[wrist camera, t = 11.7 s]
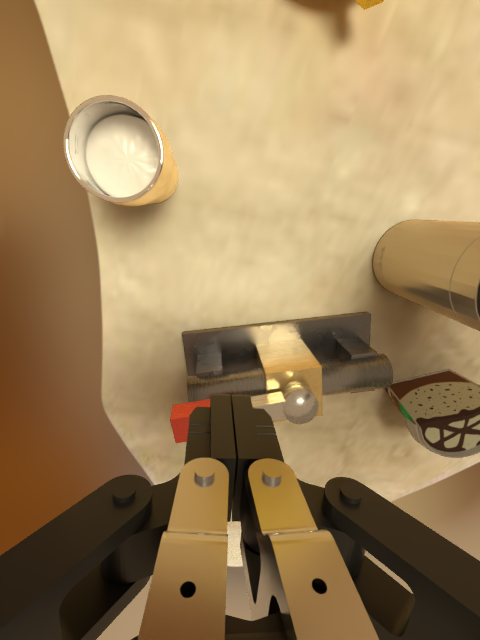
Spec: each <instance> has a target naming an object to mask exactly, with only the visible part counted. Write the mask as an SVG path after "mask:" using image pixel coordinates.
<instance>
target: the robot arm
mask: <svg viewBox="0 0 480 640" xmlns="http://www.w3.org/2000/svg"><path fill="white" fill-rule="evenodd" d="M373 270H374V273H375V276H376V278H377V280H378V282H379V283H380V284H381V285H382V286H383V287H384V288H385V289H387V290H388V291H390V292H392V293H395V294H397V295H399V296H401V297H404V298H406V299H408V300H410V301H412V302H415V303H417V304H419V305H421V306H424V307H426V308H428V309H431V310H433V311H435V312H437V313H440V314H442V315H444V316H446V317H449V318H451V319H453V320H455V321H458V322H460V323H462V324H465V325H467V326H469V327H471V328H474V329H476V330H479V331H480V223H479V222H456V221H437V220H407V221H404V222H401V223H399V224H397V225H395V226H393V227H392V228H391V229H389V230H388V231H387V232H386V233H385V234H384V235H383V237H382V238H381V239H380V241H379V243H378V245H377V247H376V250H375V252H374V258H373ZM231 508H232V521H241V530H242V532H241V541H240V549H241V555H242V561H243V567H244V573H245V579H246V585H247V591H248V597H249V603H250V610H251V618H252V621H248V620H243V619H240V618H235V617H232V616H228V615H225V610H226V579H227V578H226V577H227V548H228V534H227V522H229V521H230V518H231ZM365 550H366V551H368V552H369V553H370V554H371V555H373V556H374V557H375V558H376V559H378V560H379V561H380V562H381V563H383V564H384V565H385V566H387V567H388V568H389V569H390V570H391V571H393V572H394V573H395V574H396V575H398V576H399V577H400V578H401V579H403V580H404V581H405V582H406V583H407V584H408V586H409V587H410V588H411V590H412V592H413V594H411V593H410V592H409V591H408V590H406V589H405V588H404V587H403V586H402V585H400V584H399V583H398V582H397V581H395V580H394V579H393V578H392V577H390V576H389V575H388V574H387V573H386V572H384V571H383V570H382V569H381V568H379V567H378V566H377V565H375V564H374V563H373V562H372V561H371V560H370V559H368V558H367V557H366V556H365V555H364V554H365ZM151 575H153V576H152V581H151V584H150V589H149V593H148V598H147V602H146V606H145V610H144V614H143V619H142V623H141V627H140V631H139V635H138V636H136V637H134V638H133V639H131V640H480V561H479V560H477V559H476V558H474V557H473V556H471V555H469V554H468V553H467V552H465V551H463V550H462V549H460V548H459V547H457V546H456V545H454V544H453V543H451V542H450V541H448V540H447V539H445V538H444V537H442V536H440V535H439V534H438V533H436V532H435V531H433V530H432V529H430V528H429V527H427V526H425V525H424V524H423V523H421V522H419V521H418V520H416V519H415V518H413V517H412V516H410V515H409V514H407V513H406V512H404V511H403V510H401V509H400V508H398V507H397V506H395V505H394V504H392V503H391V502H389V501H388V500H386V499H385V498H383V497H382V496H380V495H379V494H377V493H375V492H374V491H372V490H371V489H369V488H368V487H366V486H365V485H363V484H362V483H360V482H358V481H356V480H354V479H351V478H346V477H336V478H333V479H331V480H329V481H328V482H327V483H326V485H325V488H322V487H319V486H315V485H311V484H308V483H305V482H303V481H300V480H299V479H297V478H296V476H295V474H294V472H293V470H292V469H291V468H290V467H289V466H288V465H287V464H285V463H284V459H283V456H282V453H281V449H280V446H279V442H278V439H277V435H276V432H275V428H274V425H273V421H272V418H271V416H270V415H269V414H268V413H267V412H266V411H265V410H264V409H260V408H253V406H252V402H251V397H250V395H232V394H231V397H230V394H211V398H210V407H196V408H195V409H194V410H193V411H192V413H191V414H190V418H189V427H188V437H187V446H186V456H185V464H184V466H183V468H182V469H181V472H180V473H179V474H178V475H177V476H176V477H175V478H173V479H172V480H170V481H168V482H165V483H162V484H158V485H154V486H151V485H150V483H149V482H148V481H147V480H146V479H145V478H143V477H141V476H137V475H123V476H119V477H116V478H114V479H112V480H110V481H108V482H107V483H105V484H104V485H102V486H101V487H99V488H98V489H97V490H95V491H94V492H92V493H91V494H89V495H88V496H86V497H85V498H83V499H82V500H81V501H79V502H78V503H76V504H75V505H73V506H72V507H70V508H69V509H68V510H66V511H65V512H63V513H62V514H60V515H59V516H57V517H56V518H54V519H53V520H52V521H50V522H49V523H47V524H46V525H44V526H43V527H41V528H40V529H39V530H37V531H36V532H34V533H33V534H31V535H30V536H28V537H27V538H26V539H24V540H23V541H21V542H20V543H18V544H17V545H15V546H14V547H12V548H11V549H9V550H8V551H7V552H5V553H4V554H2V555H1V556H0V640H96V639H97V638H98V637H99V636H100V635H101V633H102V632H103V631H104V630H105V629H106V628H107V627H108V626H109V625H110V624H111V623H112V622H113V620H114V619H115V618H116V617H117V616H118V615H119V614H120V613H121V612H122V611H123V610H124V608H125V607H126V606H127V605H128V604H129V603H130V602H131V601H132V600H133V599H134V598H135V596H136V595H137V594H138V593H139V592H140V591H141V590H142V589H143V588H144V586H145V585H146V584H147V582H148V581H149V579H150V576H151Z"/></svg>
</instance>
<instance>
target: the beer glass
mask: <svg viewBox="0 0 480 640" xmlns="http://www.w3.org/2000/svg"><path fill="white" fill-rule="evenodd" d="M63 144H64V145H63V146H64V153H65V157H66V161H67V164H68V166H69V168H70V170H71V172H72V174H73V175H74V177H75V178H76V180H77V181H78V182H79V183H80V184H81V185H82V186H83V187H84V188H85V189H86V190H87V191H88V192H90V193H91V194H93V195H94V196H96V197H98V198H101V199H103V200H106V201H109V202H112V203H115V204H118V205H123V206H143V205H147V204H150V203H160V202H162V201H164V200H166V199H168V198H169V197H170V196H171V195H172V194H173V192H174V191H175V189H176V187H177V184H178V168H177V165H176V162H175V160H174V158H173V153H172V150H171V147H170V145H169V142H168V140H167V138H166V136H165V134H164V133H163V131H162V130H161V129H160V127H159V126H158V125H157V124H156V122H155V121H154V120H153V119H152V118H151V117H150V116H149V115H148V114H147V113H146V112H145V111H144V110H143V109H142V108H141V107H139V106H138V105H137V104H135V103H133V102H132V101H130V100H128V99H125V98H122V97H119V96H113V95H101V96H96V97H93V98H90V99H88V100H86V101H84V102H83V103H82V104H80V105H79V106H78V107H77V108H76V109H75V110H74V111H73V113H72V114H71V116H70V117H69V119H68V122H67V124H66V127H65V131H64V138H63Z"/></svg>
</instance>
